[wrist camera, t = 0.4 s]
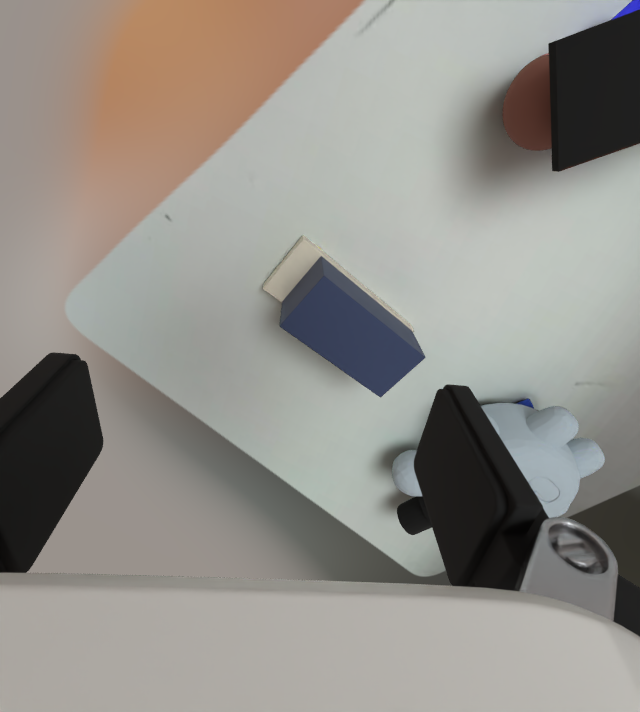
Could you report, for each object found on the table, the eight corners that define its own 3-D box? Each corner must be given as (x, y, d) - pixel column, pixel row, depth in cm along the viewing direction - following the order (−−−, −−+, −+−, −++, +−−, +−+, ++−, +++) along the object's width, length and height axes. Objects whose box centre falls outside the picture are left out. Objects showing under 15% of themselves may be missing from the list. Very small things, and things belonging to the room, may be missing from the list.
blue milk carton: (263, 283, 31) (257, 312, 27) (303, 234, 30) (303, 256, 25) (370, 362, 36) (381, 399, 31) (411, 324, 34) (428, 358, 29)
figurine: (519, 345, 35) (351, 447, 44) (564, 412, 28) (353, 517, 37) (601, 443, 42) (441, 515, 50) (653, 517, 35) (458, 585, 43)
